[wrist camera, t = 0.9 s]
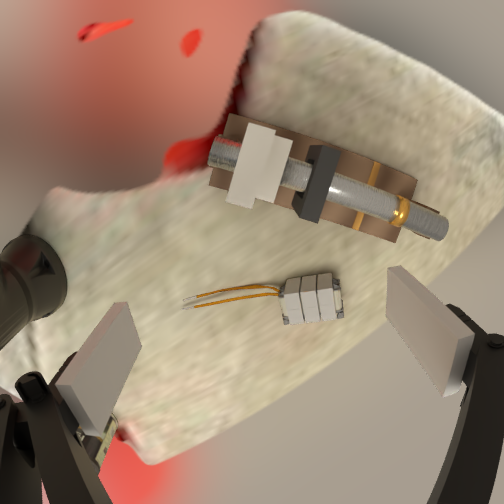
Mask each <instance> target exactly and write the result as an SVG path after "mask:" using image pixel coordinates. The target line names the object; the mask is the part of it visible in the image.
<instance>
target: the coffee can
mask: <svg viewBox="0 0 504 504" xmlns="http://www.w3.org/2000/svg"><path fill="white" fill-rule="evenodd" d="M117 428H118V422H117V420H116V418H115V416H114V415H113V414H112V413H111V415H110V417H109V420H108V422H107V424H106V427H105V429H104V431H103V434H102V436H101V437H99V436H91V435H86V434H85V433H84V431H83V430H82V428H81V427H80V425H79V427H78V429H77V431H76V432H77V434H78V435H79V437H80V439H81V441H82V443H83V446H84V448H85V450H86V452H87V454H88V457H89V459H90V461H91V463H92V465H93V467H94V469H95V471H96V473H97V475H98V474H99V472H100V467H101V465H102V462H103V460H104V458H105V455H106V453H107V450H108V448H109V445H110V443H111V441H112V438H113V436H114V434H115V431H116V429H117Z"/></svg>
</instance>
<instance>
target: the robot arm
mask: <svg viewBox="0 0 504 504" xmlns="http://www.w3.org/2000/svg"><path fill="white" fill-rule="evenodd" d="M66 292H67V282H66V276H65V272H64V269H63V266H62V264H61V261H60V259H59V258H58V256H57V254H56V253H55V252H54V250H53V249H52V248H51V247H50V246H49V245H48V244H47V243H46V242H45V241H43V240H42V239H40V238H38V237H36V236H33V235H22V236H19V237H17V238H15V239H13V240H11V241H10V242H9V243H8V244H7V245H6V246H5V247H4V249H3V251H2V253H1V254H0V351H1V349H2V348H3V347H4V346H5V345H6V344H7V343H8V342H9V341H10V340H11V339H12V338H13V337H14V336H15V335H16V334H17V333H18V332H19V331H20V330H21V329H23V328H24V326H26V325H27V324H28V323H29V322H32V321H35V320H38V319H41V318H44V317H48V316H50V315H51V314H53V313H54V312H55V311H56V310H57V309H58V308H59V307H60V306H61V305H62V304H63V302H64V300H65V297H66ZM386 317H387V318H388V320H389V321H390V323H391V324H392V325H393V327H394V328H395V329H396V331H397V332H398V334H399V335H400V336H401V338H402V339H403V340H404V342H405V343H406V344H407V346H408V348H409V349H410V350H411V352H412V353H413V355H414V356H415V358H416V359H417V360H418V362H419V363H420V365H421V366H422V367H423V369H424V371H425V372H426V374H427V375H428V376H429V378H430V379H431V381H432V382H433V384H434V385H435V387H436V388H437V390H438V391H439V393H440V394H441V396H442V397H446V396H449V395H452V394H454V393H457V392H459V389H460V386H461V383H462V380H463V382H464V383H465V384H466V386H467V388H466V391H465V394H464V397H463V399H462V402H461V405H460V406H461V410H460V413H459V417H458V421H457V424H456V427H455V431H454V434H453V437H452V440H451V443H450V446H449V449H448V452H447V455H446V458H445V461H444V463H443V466H442V469H441V471H440V474H439V476H438V479H437V481H436V484H435V486H434V488H433V491H432V493H431V495H430V498H429V500H428V502H427V504H488V503H489V500H490V497H491V493H492V490H493V486H494V482H495V478H496V473H497V469H498V465H499V460H500V455H501V450H502V445H503V438H504V336H502V335H499V334H487V333H486V332H485V331H484V330H483V329H482V328H480V327H479V326H478V325H477V324H476V323H475V322H474V321H473V320H471V318H470V317H469V316H467V315H466V314H465V313H464V312H463V311H462V310H461V309H460V308H458V307H456V306H454V305H452V304H447V305H444V304H443V303H442V302H441V301H440V300H439V299H438V298H437V297H436V296H435V295H434V294H432V293H431V292H430V291H429V290H428V289H427V288H426V287H425V286H424V285H422V284H421V283H420V282H419V281H418V280H417V279H416V278H415V277H413V276H412V275H411V274H410V273H409V272H408V271H407V270H405V269H404V268H403V267H402V266H395V267H389V268H387V298H386ZM141 348H142V345H141V342H140V339H139V336H138V333H137V330H136V327H135V325H134V321H133V318H132V315H131V312H130V309H129V306H128V303H127V302H119V303H114V304H113V305H112V307H111V308H110V309H109V310H108V312H107V313H106V314H105V316H104V317H103V318H102V320H101V321H100V322H99V324H98V325H97V326H96V328H95V329H94V330H93V332H92V333H91V334H90V336H89V337H88V338H87V340H86V341H85V342H84V344H83V345H82V347H81V348H80V349H79V351H78V352H75V353H73V354H72V355H71V356H69V357H68V358H67V359H66V361H65V362H64V364H63V366H61V368H60V369H59V372H57V373H56V375H55V376H54V378H53V379H52V380H51V382H50V383H49V385H47V383H46V382H45V380H44V378H43V376H42V374H41V373H40V372H37V371H34V372H29V373H26V374H24V375H22V376H21V377H20V378H19V379H18V380H17V382H16V383H15V388H16V390H17V392H18V393H19V395H20V397H21V398H22V400H23V401H24V402H19V403H14V402H13V400H12V398H11V397H10V395H7V394H1V395H0V504H42V482H43V485H44V488H45V491H46V494H47V497H48V500H49V503H50V504H113V503H112V501H111V499H110V498H109V496H108V494H107V492H106V490H105V488H104V487H103V485H102V483H101V481H100V479H99V477H98V475H97V473H96V471H95V469H94V467H93V465H92V463H91V461H90V459H89V457H88V454H87V452H86V450H85V448H84V446H83V443H82V441H81V439H80V437H79V435H78V434H77V432H76V431H77V429H78V427H79V425H80V427H81V428H82V430H83V431H84V433H85V434H86V435H91V436H99V437H101V436H102V434H103V431H104V429H105V427H106V424H107V422H108V420H109V417H110V415H111V413H112V411H113V408H114V406H115V404H116V402H117V399H118V397H119V395H120V393H121V390H122V388H123V386H124V384H125V382H126V380H127V377H128V375H129V373H130V371H131V369H132V367H133V364H134V362H135V360H136V358H137V356H138V354H139V352H140V350H141ZM41 478H42V481H41Z"/></svg>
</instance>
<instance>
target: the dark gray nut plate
mask: <svg viewBox="0 0 504 504" xmlns="http://www.w3.org/2000/svg"><path fill="white" fill-rule="evenodd" d="M340 155H341V151H339V150H336V149H334V148H331V147H328V146H325V145H310V146H309V149H308V153H307V156H306V159H305V162H306V163H309V164H312V165H313V168H312V171H311V174H310V177H309V180H308V183H307V186H306V189H305V193H303V192H300V191H296V190H295V194H294V197H293V200H292V203H291V205H292V207H293V208H294V210H295V212H296V213H297V215H298V216H299V218H302V219H305V220H308V221H312V222H315V223H318V221H319V218H320V215H321V213H322V210H323V207H324V204H325V201H326V198H327V195H328V192H329V189H330V186H331V183H332V180H333V177H334V173H335V170H336V167H337V164H338V161H339V158H340Z"/></svg>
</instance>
